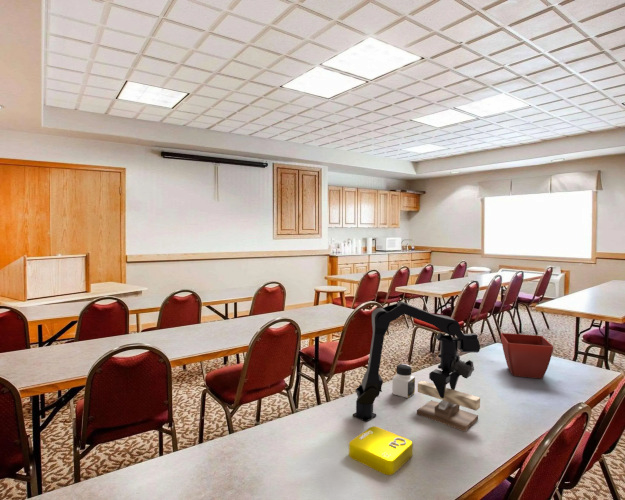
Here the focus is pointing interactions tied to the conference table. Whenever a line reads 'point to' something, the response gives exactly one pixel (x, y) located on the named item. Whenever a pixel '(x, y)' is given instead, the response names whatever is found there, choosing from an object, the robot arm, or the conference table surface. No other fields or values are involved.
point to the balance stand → (448, 414)
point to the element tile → (381, 450)
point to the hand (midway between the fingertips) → (447, 394)
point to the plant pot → (526, 354)
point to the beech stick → (450, 395)
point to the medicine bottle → (403, 381)
